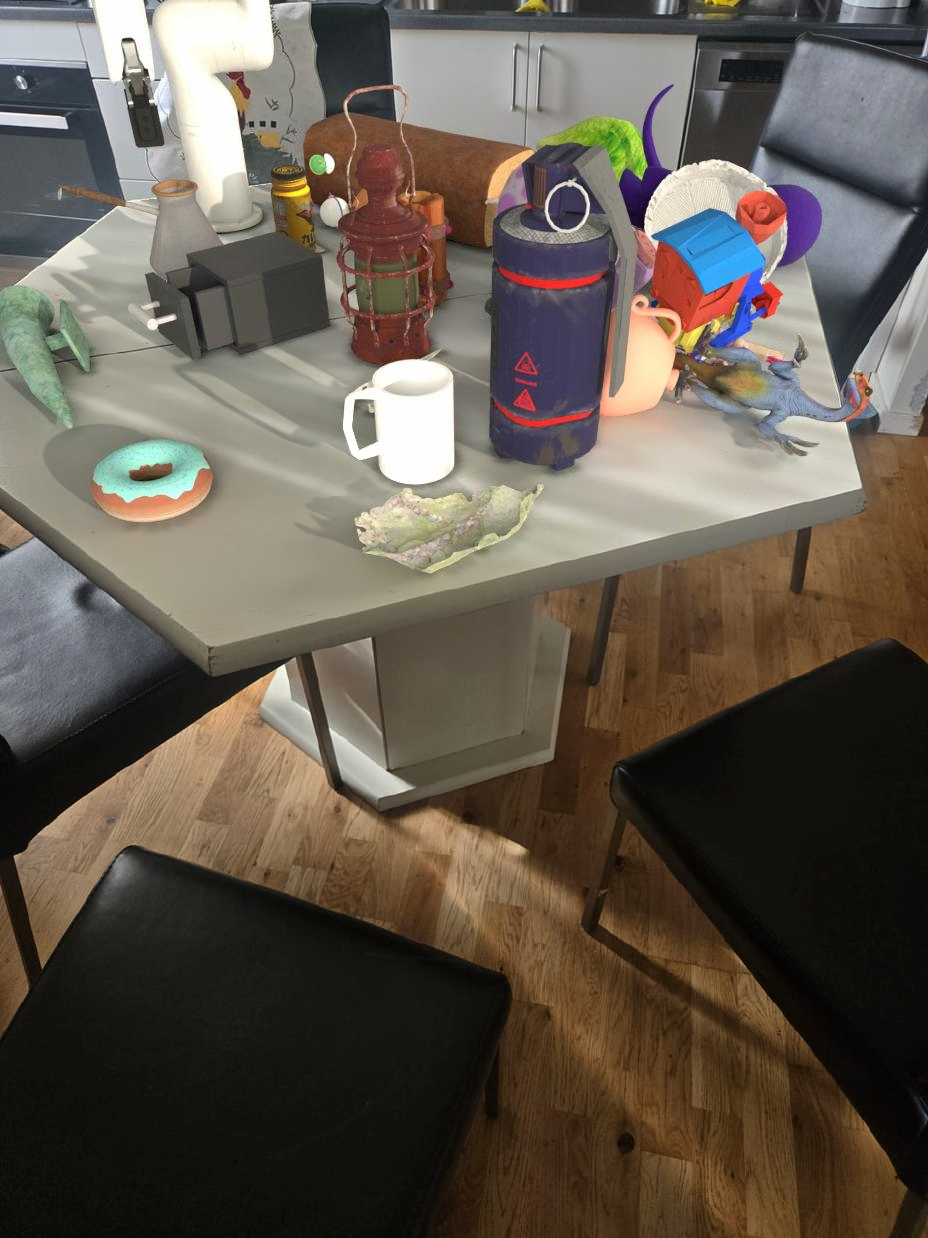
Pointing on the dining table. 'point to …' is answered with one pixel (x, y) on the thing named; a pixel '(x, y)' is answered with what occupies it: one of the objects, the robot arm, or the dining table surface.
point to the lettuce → (607, 142)
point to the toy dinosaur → (763, 388)
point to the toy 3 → (798, 200)
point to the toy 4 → (760, 351)
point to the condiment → (293, 205)
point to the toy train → (716, 270)
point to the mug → (436, 234)
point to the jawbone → (369, 385)
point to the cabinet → (268, 288)
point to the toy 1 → (333, 205)
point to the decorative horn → (40, 343)
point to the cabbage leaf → (443, 525)
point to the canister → (558, 305)
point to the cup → (409, 421)
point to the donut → (139, 500)
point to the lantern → (385, 257)
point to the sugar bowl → (642, 361)
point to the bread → (419, 168)
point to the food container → (710, 202)
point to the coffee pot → (168, 222)
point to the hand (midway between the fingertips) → (148, 135)
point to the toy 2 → (645, 252)
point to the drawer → (188, 310)
